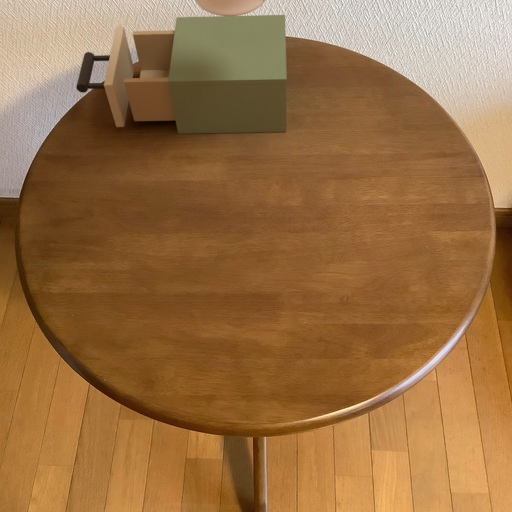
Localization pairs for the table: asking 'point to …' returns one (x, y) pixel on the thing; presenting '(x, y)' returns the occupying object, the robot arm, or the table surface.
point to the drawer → (135, 89)
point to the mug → (229, 6)
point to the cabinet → (229, 74)
